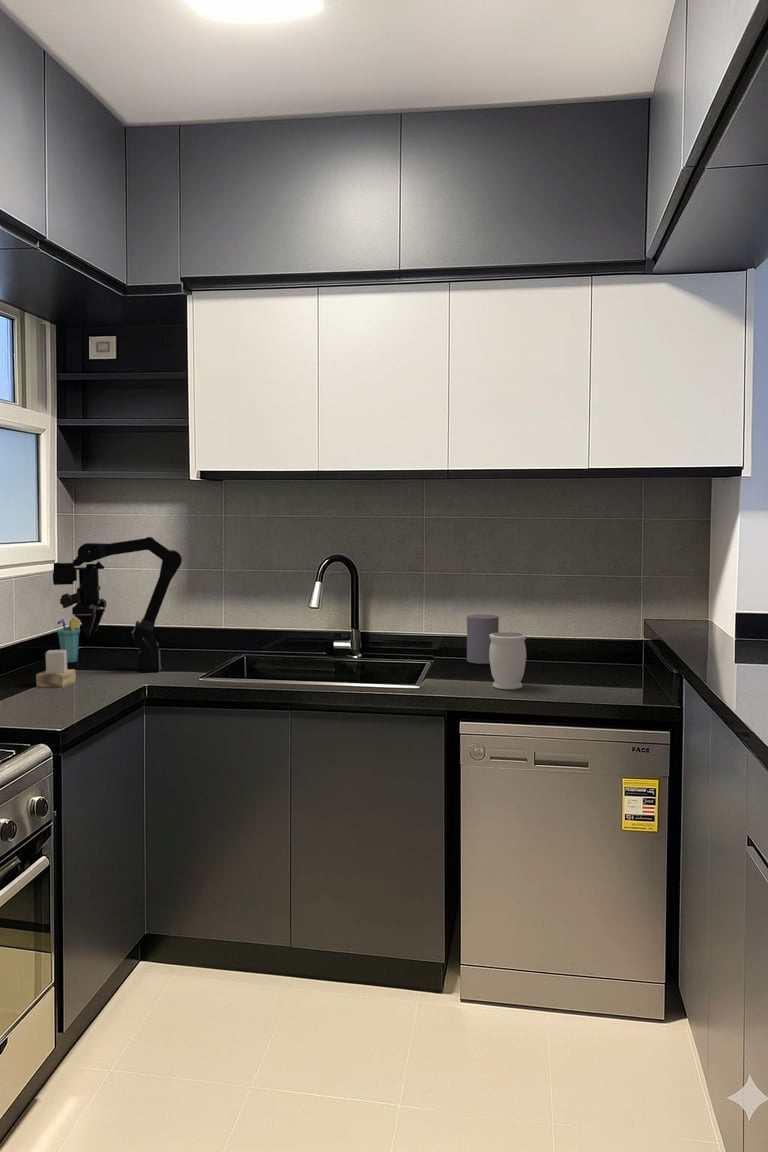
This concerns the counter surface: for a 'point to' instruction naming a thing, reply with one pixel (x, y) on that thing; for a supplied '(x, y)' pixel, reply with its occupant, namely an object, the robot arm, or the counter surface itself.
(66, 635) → the cup
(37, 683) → the oak block
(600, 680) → the counter surface
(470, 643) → the container
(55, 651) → the ceramic cube
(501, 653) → the jar
